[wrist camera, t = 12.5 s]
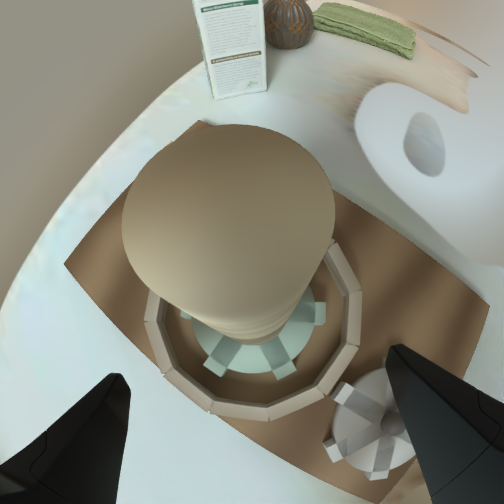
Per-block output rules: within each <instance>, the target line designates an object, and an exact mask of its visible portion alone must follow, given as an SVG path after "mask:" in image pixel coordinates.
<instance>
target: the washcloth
mask: <svg viewBox="0 0 504 504" xmlns="http://www.w3.org/2000/svg"><path fill="white" fill-rule="evenodd" d="M312 14H313V18H314V28H313V29H318V30H322V31H325V32H329V33H332V34H336V35H340V36H344V37H346V38H350V39H354V40H357V41H361V42H364V43H368V44H371V45H374V46H377V47H380V48H382V49H385V50H388V51H391V52H393V53H395V54H397V55H400V56H402V57H405V58H407V59H412V57H413V54H414V50H415V47H416V44H415V42H414V41H415V38H414V37H415V34H416V33H415V32H413V30H411V29H410V28H408V27H406V26H404V25H402V24H400V23H397V22H396V21H394V20H391V19H388V18H386V17H382V16H379V15H376V14H372V13H368V12H365V11H362V10H359V9H356V8H353V7H351V6H346V5H341V4H339V3H323V4H322V5H321V6H320V8H318V10H316V11H315V12H312Z"/></svg>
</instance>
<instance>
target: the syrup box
mask: <svg viewBox="0 0 504 504" xmlns="http://www.w3.org/2000/svg"><path fill="white" fill-rule="evenodd" d="M192 4H193V9H194V14H195V19H196V24H197V29H198V34H199V38H200V43H201V47H202V52H203V57H204V62H205V66H206V71H207V76H208V79H209V83H210V86H211V90H212V93H213V97H214V99H215V100H220V99H226V98H232V97H237V96H242V95H247V94H252V93H258V92H263V91H267V74H266V73H267V71H266V44H265V24H264V9H263V0H192Z"/></svg>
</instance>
